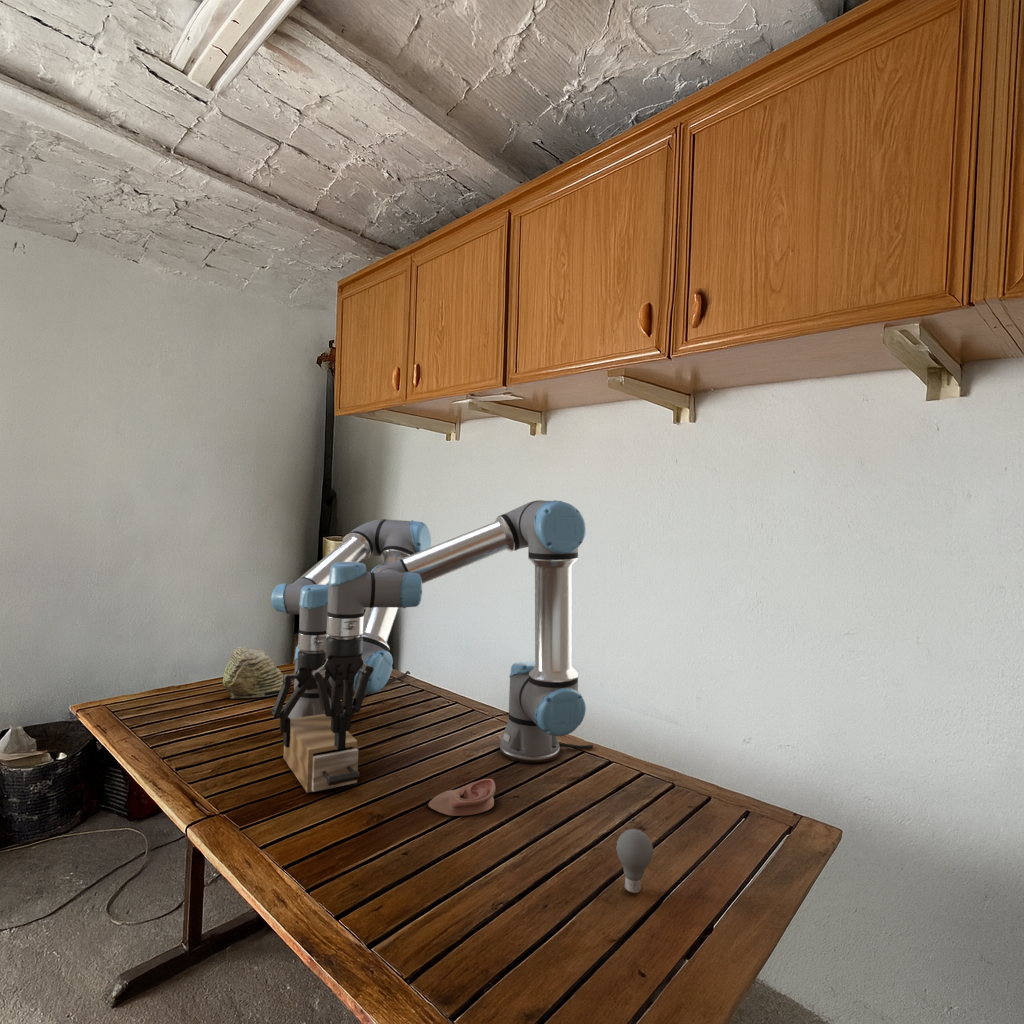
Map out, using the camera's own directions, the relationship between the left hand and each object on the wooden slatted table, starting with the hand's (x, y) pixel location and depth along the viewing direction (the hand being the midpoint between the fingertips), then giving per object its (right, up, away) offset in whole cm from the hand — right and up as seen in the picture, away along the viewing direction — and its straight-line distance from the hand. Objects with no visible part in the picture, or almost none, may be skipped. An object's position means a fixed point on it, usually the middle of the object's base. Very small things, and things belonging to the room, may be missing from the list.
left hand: (311, 741), depth 152 cm
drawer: (+7, -4, -10) cm, 13 cm away
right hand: (+12, +5, -18) cm, 22 cm away
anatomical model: (+38, -6, -19) cm, 43 cm away
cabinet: (+3, -5, -5) cm, 8 cm away
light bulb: (+68, -8, -46) cm, 83 cm away
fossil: (-32, -2, +46) cm, 56 cm away
